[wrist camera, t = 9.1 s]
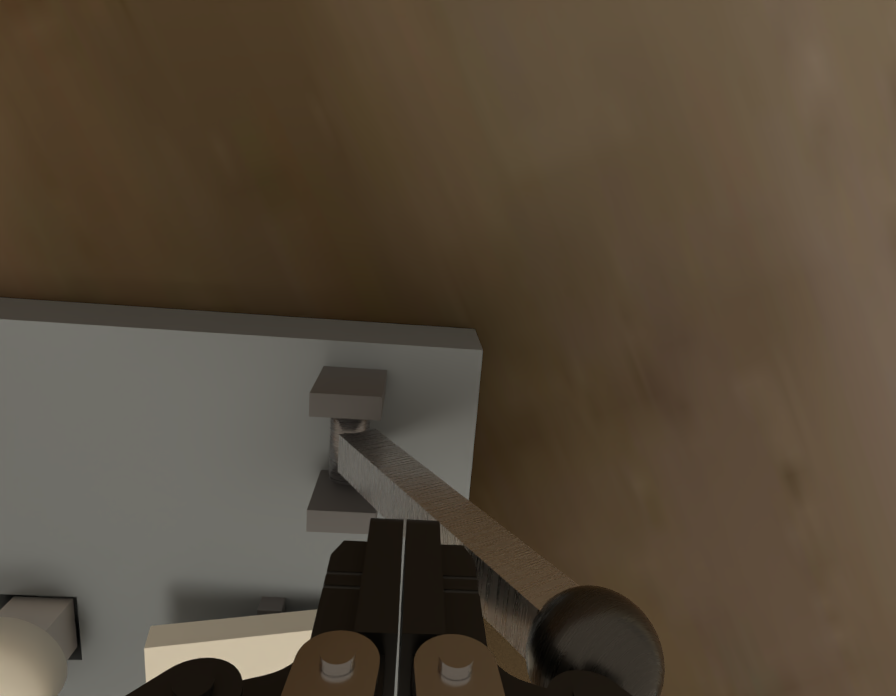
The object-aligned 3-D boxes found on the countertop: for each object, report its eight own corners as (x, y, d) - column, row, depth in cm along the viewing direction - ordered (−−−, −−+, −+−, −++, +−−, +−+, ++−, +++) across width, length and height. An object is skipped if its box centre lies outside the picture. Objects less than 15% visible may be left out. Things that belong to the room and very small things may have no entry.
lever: (304, 478, 19) (586, 798, 10) (305, 405, 19) (608, 671, 9) (373, 464, 20) (680, 733, 11) (376, 396, 20) (705, 618, 10)
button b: (-2, 662, 22) (-92, 764, 18) (-13, 575, 21) (-110, 662, 17) (101, 666, 22) (34, 767, 18) (95, 579, 21) (23, 666, 17)
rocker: (155, 707, 20) (148, 732, 20) (150, 625, 20) (143, 648, 19) (364, 679, 22) (368, 701, 21) (368, 604, 21) (372, 623, 21)
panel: (-76, 633, 25) (-216, 759, 19) (-132, 288, 21) (-322, 324, 16) (445, 650, 26) (451, 773, 21) (474, 328, 22) (492, 374, 17)
